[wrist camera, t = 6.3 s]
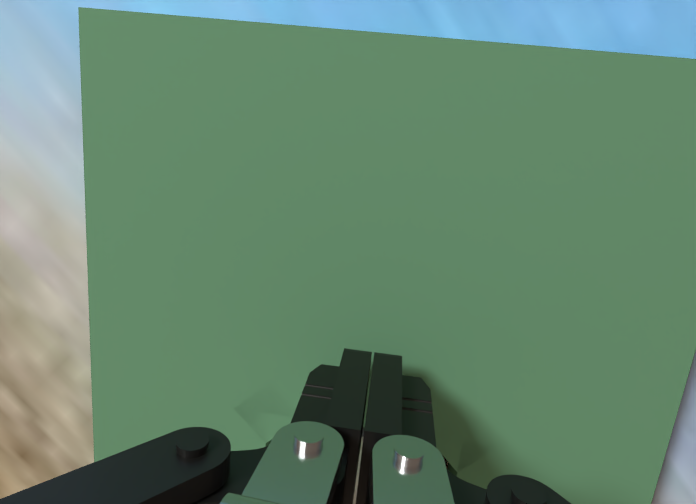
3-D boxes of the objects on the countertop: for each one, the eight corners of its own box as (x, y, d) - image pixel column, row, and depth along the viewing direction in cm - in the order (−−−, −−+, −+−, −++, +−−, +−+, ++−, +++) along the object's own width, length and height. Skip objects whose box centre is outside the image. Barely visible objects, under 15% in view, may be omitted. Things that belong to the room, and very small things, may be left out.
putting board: (734, 72, 13) (777, 66, 11) (581, 640, 17) (597, 688, 16) (112, 19, 14) (78, 7, 12) (123, 560, 18) (99, 598, 17)
